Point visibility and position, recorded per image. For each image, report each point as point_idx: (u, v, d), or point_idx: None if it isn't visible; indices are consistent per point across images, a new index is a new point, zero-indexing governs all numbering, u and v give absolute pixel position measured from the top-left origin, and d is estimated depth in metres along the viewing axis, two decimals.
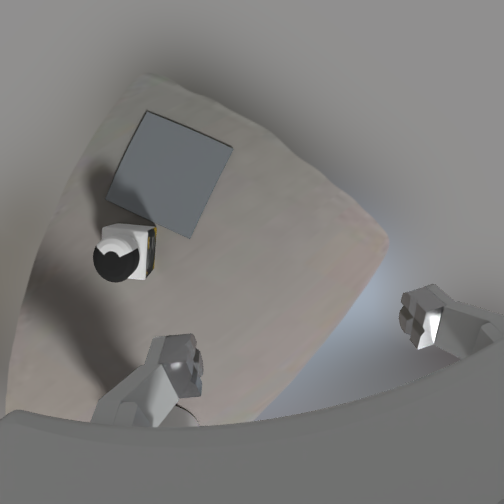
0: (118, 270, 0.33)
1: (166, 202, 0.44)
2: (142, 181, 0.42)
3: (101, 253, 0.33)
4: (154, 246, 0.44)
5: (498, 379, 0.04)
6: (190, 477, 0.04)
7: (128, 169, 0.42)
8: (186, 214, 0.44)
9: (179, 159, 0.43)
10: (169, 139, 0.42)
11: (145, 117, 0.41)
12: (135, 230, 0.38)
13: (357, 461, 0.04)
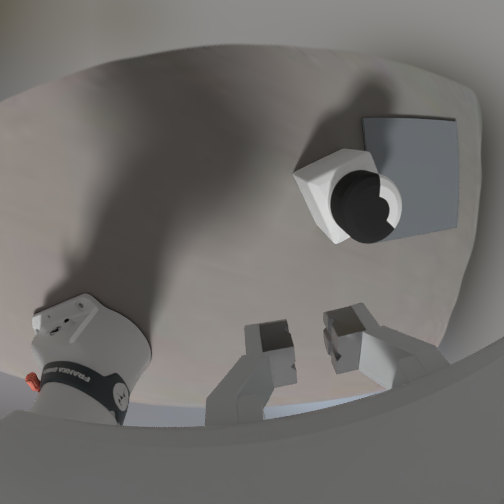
0: (368, 228, 0.22)
1: None
2: (402, 156, 0.31)
3: (378, 191, 0.21)
4: None
5: (497, 379, 0.04)
6: (190, 477, 0.04)
7: (405, 131, 0.30)
8: None
9: (434, 183, 0.32)
10: (446, 161, 0.31)
11: (452, 122, 0.29)
12: None
13: (357, 461, 0.04)
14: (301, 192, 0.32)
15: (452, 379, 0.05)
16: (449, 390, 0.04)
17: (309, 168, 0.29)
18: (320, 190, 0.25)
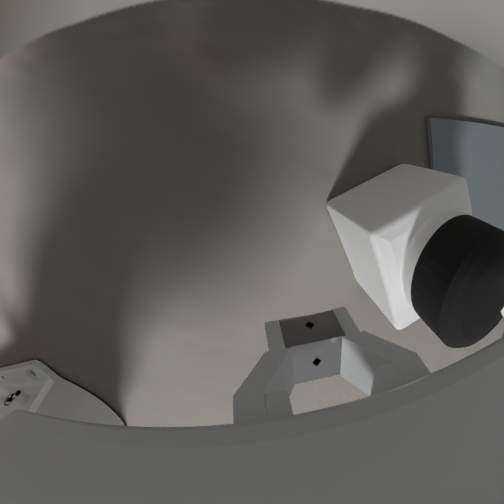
0: (477, 329, 0.09)
1: None
2: (473, 177, 0.18)
3: None
4: None
5: (498, 379, 0.04)
6: (190, 477, 0.04)
7: (476, 142, 0.17)
8: None
9: (501, 214, 0.20)
10: None
11: None
12: None
13: (357, 461, 0.04)
14: (338, 234, 0.20)
15: (452, 379, 0.05)
16: (449, 390, 0.04)
17: (358, 198, 0.17)
18: (391, 249, 0.13)
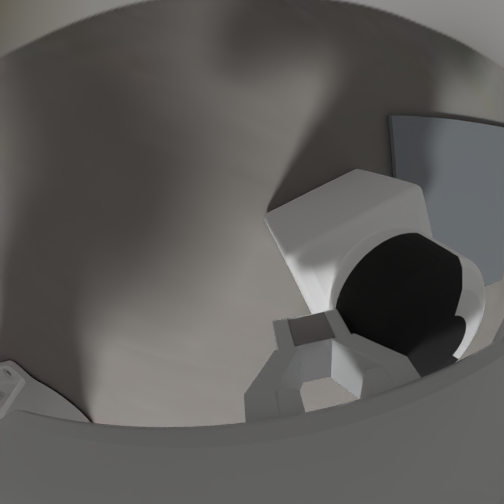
0: None
1: None
2: (448, 181, 0.17)
3: (455, 303, 0.07)
4: None
5: (497, 379, 0.04)
6: (190, 477, 0.04)
7: (453, 142, 0.16)
8: None
9: (485, 223, 0.19)
10: (501, 189, 0.18)
11: None
12: None
13: (357, 461, 0.04)
14: None
15: (452, 379, 0.05)
16: (449, 390, 0.04)
17: (294, 211, 0.16)
18: (314, 274, 0.12)
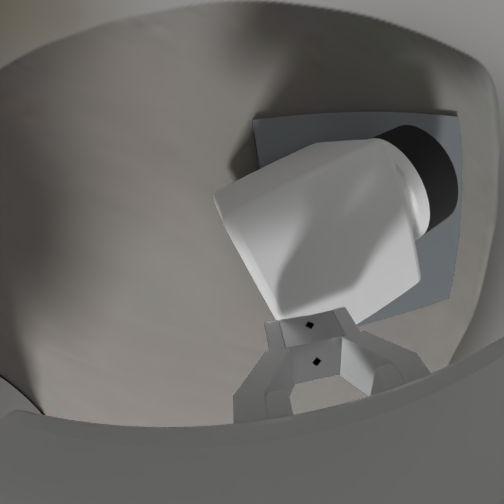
0: None
1: None
2: None
3: None
4: None
5: (497, 379, 0.04)
6: (190, 477, 0.04)
7: (351, 139, 0.16)
8: None
9: None
10: None
11: (450, 119, 0.16)
12: None
13: (357, 461, 0.04)
14: (264, 275, 0.10)
15: (452, 379, 0.05)
16: (449, 390, 0.04)
17: (273, 180, 0.11)
18: None
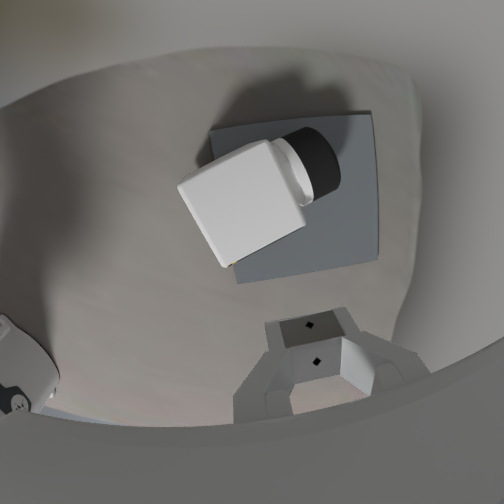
0: None
1: None
2: None
3: None
4: None
5: (497, 379, 0.04)
6: (190, 477, 0.04)
7: (275, 139, 0.25)
8: (266, 261, 0.30)
9: (332, 205, 0.28)
10: (351, 173, 0.27)
11: (362, 117, 0.24)
12: None
13: (357, 461, 0.04)
14: (198, 214, 0.19)
15: (452, 379, 0.05)
16: (449, 390, 0.04)
17: (206, 166, 0.20)
18: None
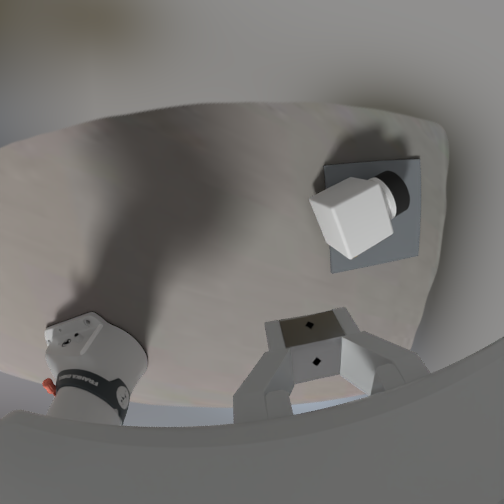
0: None
1: None
2: None
3: None
4: None
5: (498, 378, 0.04)
6: (190, 477, 0.04)
7: (365, 175, 0.37)
8: None
9: (394, 219, 0.39)
10: None
11: (415, 161, 0.36)
12: None
13: (357, 461, 0.04)
14: (341, 226, 0.31)
15: (452, 379, 0.05)
16: (449, 390, 0.04)
17: (342, 195, 0.31)
18: None
